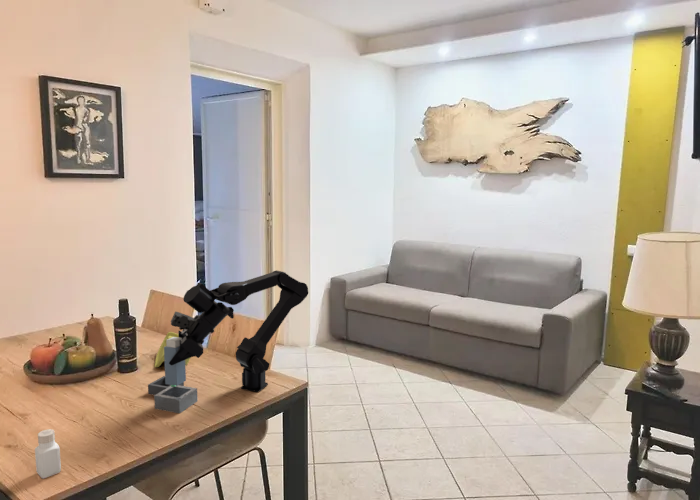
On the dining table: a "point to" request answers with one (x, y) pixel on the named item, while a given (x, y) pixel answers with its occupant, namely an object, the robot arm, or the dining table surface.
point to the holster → (158, 386)
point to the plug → (177, 371)
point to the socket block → (175, 398)
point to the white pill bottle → (47, 454)
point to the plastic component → (161, 350)
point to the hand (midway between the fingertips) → (169, 360)
